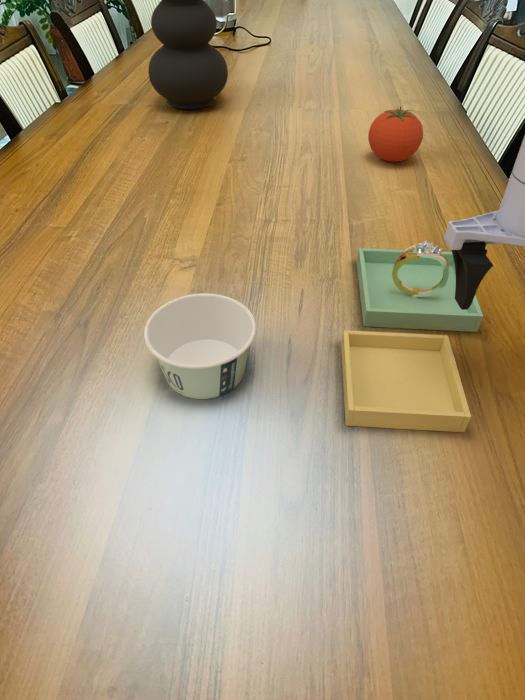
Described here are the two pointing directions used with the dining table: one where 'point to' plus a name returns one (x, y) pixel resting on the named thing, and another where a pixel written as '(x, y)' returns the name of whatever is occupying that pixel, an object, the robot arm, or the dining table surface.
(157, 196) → the dining table surface
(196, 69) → the vase
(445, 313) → the green tray
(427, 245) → the ring
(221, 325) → the food container
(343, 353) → the yellow tray
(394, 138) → the tomato
